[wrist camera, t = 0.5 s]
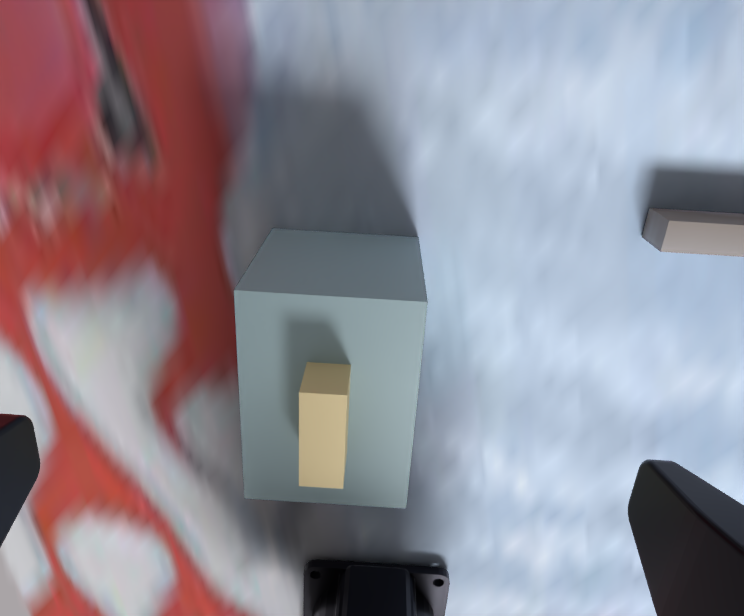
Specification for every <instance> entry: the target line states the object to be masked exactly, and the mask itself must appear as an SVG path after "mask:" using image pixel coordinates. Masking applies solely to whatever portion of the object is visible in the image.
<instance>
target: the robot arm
mask: <svg viewBox="0 0 744 616" xmlns="http://www.w3.org/2000/svg"><path fill="white" fill-rule="evenodd" d="M39 470H40V458H39V453H38V447H37V442H36V437H35V432H34V427H33V423H32V421H31V420H30V418H28V417H27V416H25V415H13V414H0V547H1V545H2V543H3V541H4V540H5V538H6V536H7V534H8V532H9V530H10V528H11V526H12V525H13V523H14V521H15V519H16V517H17V515H18V513H19V511H20V509H21V508H22V506H23V504H24V502H25V500H26V498H27V496H28V494H29V492H30V491H31V489H32V487H33V485H34V483H35V481H36V479H37V477H38V474H39ZM628 517H629V522H630V525H631V529H632V532H633V536H634V539H635V543H636V546H637V549H638V553H639V556H640V560H641V563H642V567H643V570H644V573H645V577H646V580H647V584H648V587H649V591H650V594H651V597H652V601H653V604H654V607H655V610H656V613H657V616H744V505H742V504H741V503H739V502H737V501H736V500H734V499H733V498H731V497H729V496H728V495H726V494H725V493H723V492H721V491H720V490H718V489H717V488H715V487H714V486H712V485H710V484H709V483H707V482H706V481H704V480H702V479H701V478H699V477H698V476H696V475H694V474H693V473H691V472H690V471H688V470H687V469H685V468H683V467H682V466H680V465H679V464H677V463H675V462H672V461H663V460H645V461H644V462H642V464H641V465H640V467H639V470H638V473H637V477H636V480H635V483H634V487H633V490H632V493H631V497H630V500H629V504H628ZM315 571H318V572H315ZM449 584H450V583H449V574H448V572H447V570H445V569H443V568H440V567H425V566H410V565H394V564H378V563H362V562H346V561H331V560H311V561H309V562H308V563H307V564H306V566H305V572H304V616H445V609H446V603H447V597H448V590H449Z"/></svg>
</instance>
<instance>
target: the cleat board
mask: <svg viewBox="0 0 744 616" xmlns="http://www.w3.org/2000/svg"><path fill="white" fill-rule="evenodd" d="M642 238H644V239H645V240H646V241H648V242H649V243H650V244H651V245H653V246H654V247H655V248H657V249H658V250H659V251H660V252H674V253H691V254H707V255H724V256H740V257H744V214H741V213H725V212H708V211H692V210H675V209H659V208H649V211H648V215H647V219H646V223H645V227H644V230H643V234H642Z"/></svg>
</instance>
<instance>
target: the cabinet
mask: <svg viewBox="0 0 744 616" xmlns="http://www.w3.org/2000/svg"><path fill="white" fill-rule="evenodd" d="M234 303H235V323H236V343H237V363H238V383H239V403H240V423H241V443H242V463H243V483H244V499H259V500H275V501H291V502H307V503H323V504H339V505H355V506H371V507H387V508H403V509H406V505H407V495H408V486H409V476H410V466H411V457H412V447H413V438H414V428H415V418H416V409H417V399H418V390H419V380H420V370H421V361H422V351H423V342H424V332H425V322H426V313H427V303H428V301H427V294H426V287H425V280H424V273H423V266H422V259H421V252H420V245H419V238H418V237H408V236H392V235H375V234H359V233H343V232H326V231H310V230H294V229H277V228H272V230H271V232H270V233H269V235H268V236H267V238H266V240H265V241H264V243H263V244H262V246H261V248H260V249H259V251H258V252H257V254H256V256H255V257H254V259H253V260H252V262H251V264H250V265H249V267H248V268H247V270H246V272H245V273H244V275H243V276H242V278H241V280H240V281H239V283H238V284H237V286H236V288H235V289H234Z"/></svg>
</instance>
